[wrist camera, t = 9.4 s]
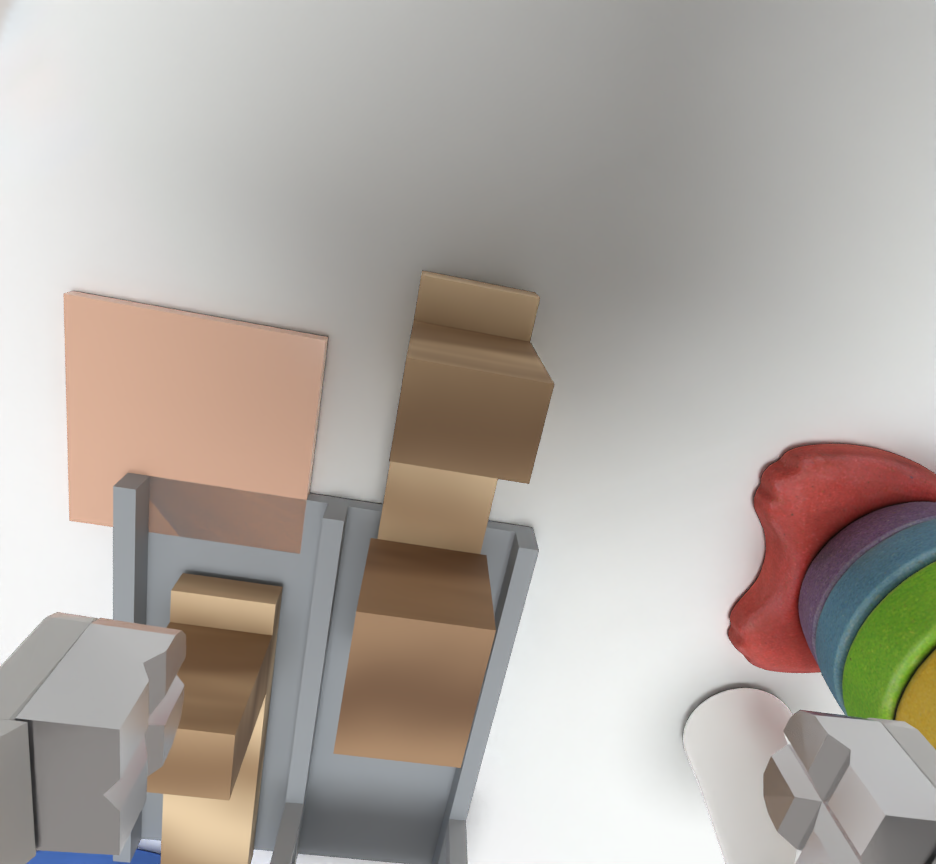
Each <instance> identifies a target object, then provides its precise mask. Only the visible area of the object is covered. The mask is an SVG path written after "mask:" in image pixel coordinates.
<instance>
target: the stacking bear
mask: <svg viewBox="0 0 936 864" xmlns="http://www.w3.org/2000/svg"><path fill="white" fill-rule="evenodd" d="M754 507H755V511H756V513H757V515H758V517H759V520H760V522H761V524H762V527H763V529H764V533H765V538H766V554H765V559H764V563H763V566H762V569H761V572H760V574H759V577H758V578H757V580H756V582H755V583H754V584H753V585H752V586H751V588H750V589H749V590H748V591H747V592H746V593H745V594H744V596H743V597H742V598H741V599H740V600H739V601H738V602H737V604H736V605H735V607H734V608H733V610H732V612H731V615H730V622H731V627H730V629H729V632H728V636H729V639H730V641H731V642H732V644H733V645H734V647H735V648H736V649H737V650H738V651H739V652H741V653H742V654H743V655H744V656H745V658H746V659H747V660H748V661H749V662H750V663H751V664H753V665H754V666H757V667H759V668H762V669H765V670H769V671H776V672H787V673H815V672H821V673H822V676H823V678H824V679H825V681H826V683H827V685H828V687H829V689H830V691H831V693H832V694H833V696H834V698H835V699H836V701H837V703H838V704H839V706H840V708H841V709H842V711H843V712H844V714H845V715H846V716H854V717H862V718H877V719H886V720H896V721H905V722H906V723H908V724H909V725H911V726H913V727H914V728H916V729H917V730H919V731H920V733H921V734H922V735H923V736H924V737H925V738H926V739H927V741H928V742H929V743H930V744H931V745H932V746H933V747H934V749H935V750H936V474H935V473H933V472H932V471H930V470H928V469H927V468H925V467H923V466H922V465H920V464H918V463H916V462H914V461H911V460H909V459H907V458H904V457H902V456H899V455H896V454H894V453H891V452H887V451H884V450H880V449H876V448H871V447H866V446H859V445H850V444H817V445H806V446H802V447H797V448H794V449H791V450H789V451H787V452H786V453H785V454H783V456H782V457H781V458H780V459H779V460H778V461H777V462H775V463H773V464H771V465H770V466H768V468H767V469H766V470H765V471H764V473H763V474H762V477H761V484H760V486H759V488H758V489H757V491H756V494H755V497H754Z"/></svg>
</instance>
